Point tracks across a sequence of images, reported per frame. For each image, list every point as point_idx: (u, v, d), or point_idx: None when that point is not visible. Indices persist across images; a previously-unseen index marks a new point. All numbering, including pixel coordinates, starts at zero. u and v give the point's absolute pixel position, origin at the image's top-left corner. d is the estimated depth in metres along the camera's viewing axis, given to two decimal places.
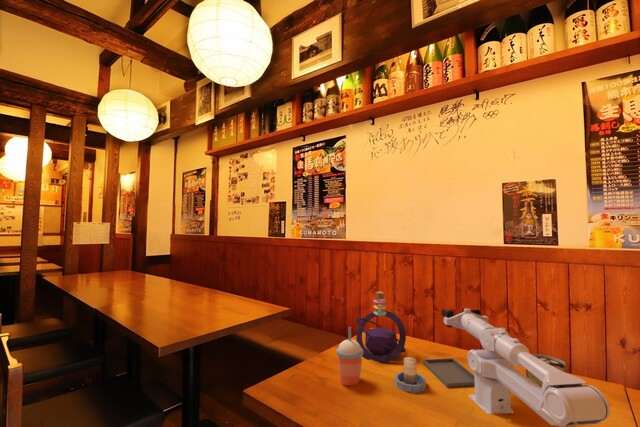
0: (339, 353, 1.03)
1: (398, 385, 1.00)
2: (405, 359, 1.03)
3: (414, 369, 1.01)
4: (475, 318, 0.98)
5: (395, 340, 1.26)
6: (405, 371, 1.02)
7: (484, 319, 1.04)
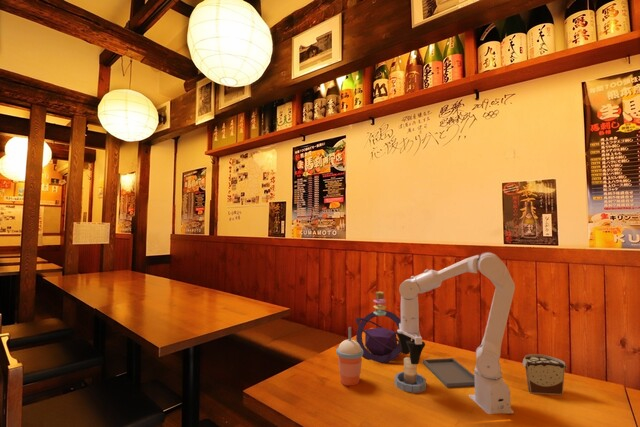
0: (339, 353, 1.03)
1: (398, 385, 1.00)
2: (405, 359, 1.03)
3: (414, 369, 1.01)
4: None
5: (395, 340, 1.26)
6: (405, 371, 1.02)
7: None
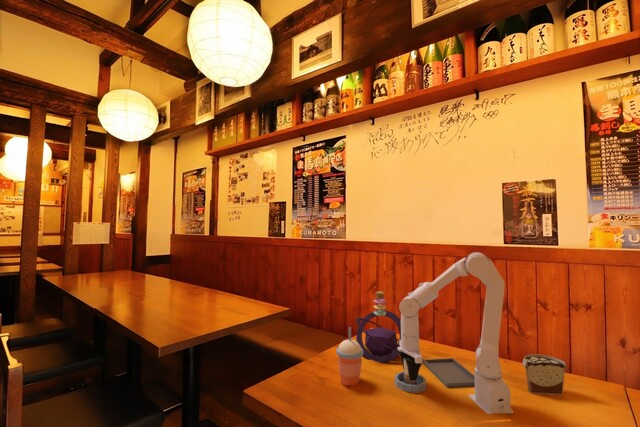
0: (339, 353, 1.03)
1: (398, 385, 1.00)
2: None
3: None
4: None
5: (395, 340, 1.26)
6: (405, 371, 1.02)
7: None
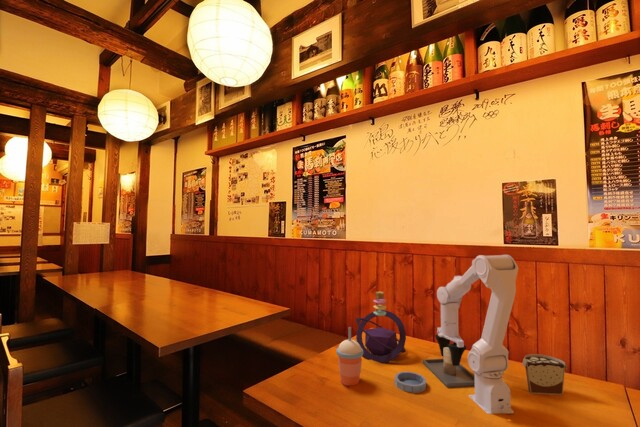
0: (339, 353, 1.03)
1: (398, 385, 1.00)
2: (445, 349, 1.11)
3: None
4: None
5: (395, 340, 1.26)
6: (445, 360, 1.09)
7: (440, 328, 1.17)
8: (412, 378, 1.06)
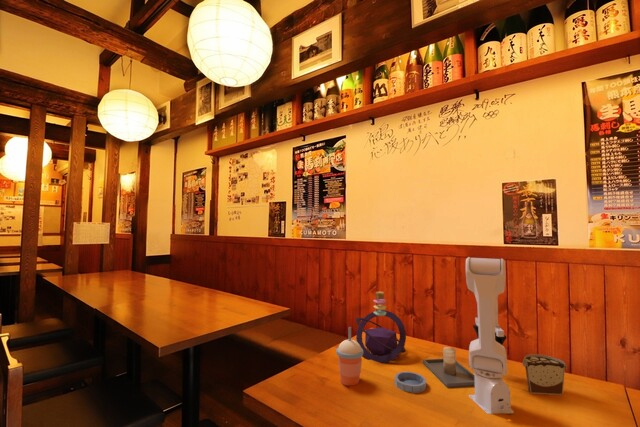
0: (339, 353, 1.03)
1: (398, 385, 1.00)
2: (444, 349, 1.11)
3: (454, 357, 1.09)
4: None
5: (395, 340, 1.26)
6: (445, 360, 1.09)
7: None
8: (412, 378, 1.06)
